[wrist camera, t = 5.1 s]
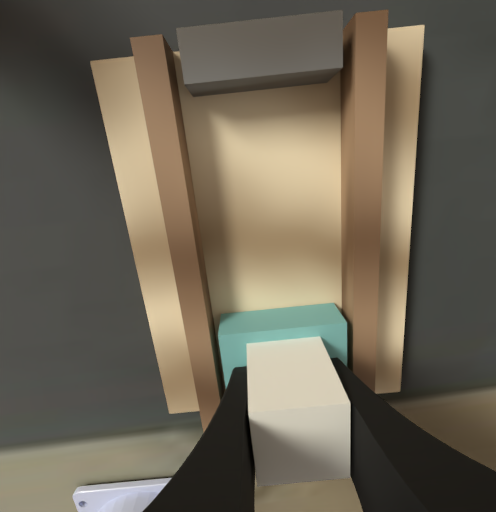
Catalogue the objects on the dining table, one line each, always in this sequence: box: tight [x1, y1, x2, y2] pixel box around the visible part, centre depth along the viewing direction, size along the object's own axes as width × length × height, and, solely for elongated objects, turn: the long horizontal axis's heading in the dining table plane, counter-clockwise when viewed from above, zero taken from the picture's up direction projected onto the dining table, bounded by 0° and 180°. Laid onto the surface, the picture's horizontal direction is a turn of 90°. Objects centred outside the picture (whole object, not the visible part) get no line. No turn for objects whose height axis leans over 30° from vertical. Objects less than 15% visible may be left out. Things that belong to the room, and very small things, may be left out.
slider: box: [218, 303, 351, 487], centre depth 12 cm, size 4×5×5 cm
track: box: [90, 10, 424, 432], centre depth 12 cm, size 16×12×3 cm
